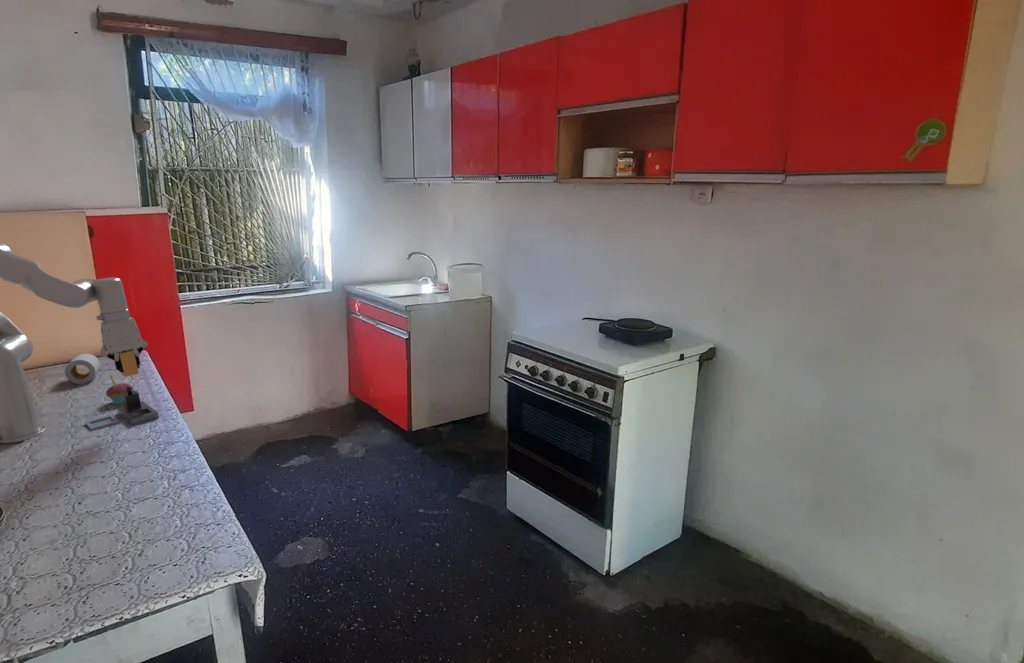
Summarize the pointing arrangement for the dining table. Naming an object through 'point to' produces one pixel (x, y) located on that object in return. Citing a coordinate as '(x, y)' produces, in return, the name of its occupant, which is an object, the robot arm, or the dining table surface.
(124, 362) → the plug
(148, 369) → the dining table surface
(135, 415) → the grey socket base
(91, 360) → the toilet paper
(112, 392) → the cupcake
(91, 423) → the tray
